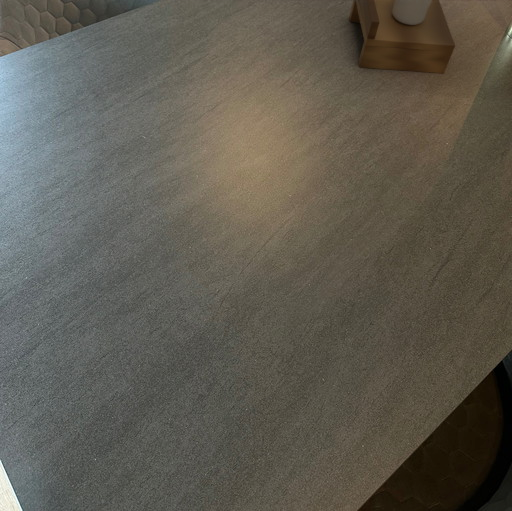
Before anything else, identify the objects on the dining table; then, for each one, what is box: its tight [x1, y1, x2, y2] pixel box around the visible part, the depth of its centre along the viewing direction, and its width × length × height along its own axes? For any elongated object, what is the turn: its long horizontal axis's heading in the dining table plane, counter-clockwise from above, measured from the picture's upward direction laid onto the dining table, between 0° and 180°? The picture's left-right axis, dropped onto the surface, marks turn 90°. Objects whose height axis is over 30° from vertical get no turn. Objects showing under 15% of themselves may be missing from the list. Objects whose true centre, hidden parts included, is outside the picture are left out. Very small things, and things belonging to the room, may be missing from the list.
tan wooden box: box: [348, 0, 456, 74], centre depth 101 cm, size 14×14×8 cm
